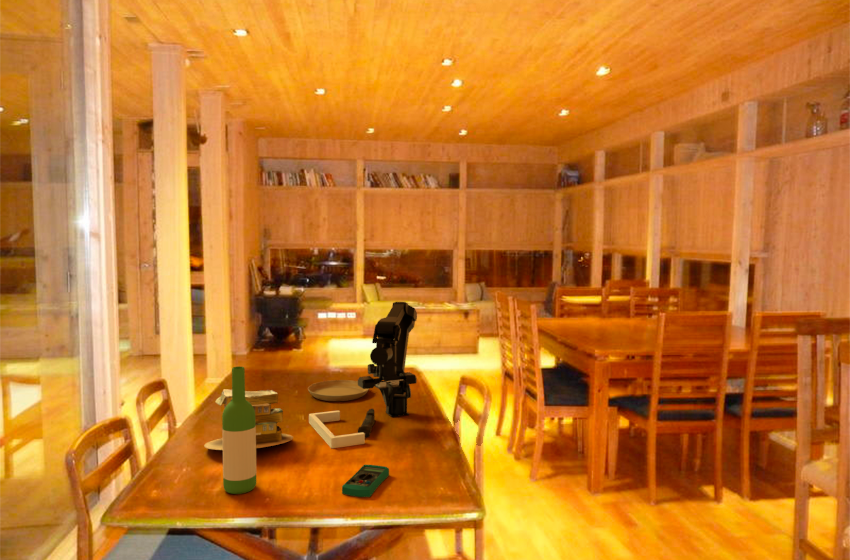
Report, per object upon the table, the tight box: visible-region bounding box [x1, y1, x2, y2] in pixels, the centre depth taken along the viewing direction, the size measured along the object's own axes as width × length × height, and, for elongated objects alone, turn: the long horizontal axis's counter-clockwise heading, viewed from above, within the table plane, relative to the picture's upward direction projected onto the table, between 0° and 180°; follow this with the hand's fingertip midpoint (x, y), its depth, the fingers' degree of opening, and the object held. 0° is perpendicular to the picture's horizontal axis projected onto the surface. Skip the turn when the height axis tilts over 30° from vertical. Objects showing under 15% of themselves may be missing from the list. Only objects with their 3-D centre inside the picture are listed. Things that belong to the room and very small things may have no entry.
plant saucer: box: [307, 379, 370, 402], centre depth 235 cm, size 24×24×3 cm
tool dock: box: [308, 410, 366, 449], centre depth 189 cm, size 10×27×3 cm, turn 25°
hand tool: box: [357, 408, 376, 439], centre depth 193 cm, size 19×4×5 cm, turn 175°
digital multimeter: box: [341, 464, 390, 498], centre depth 149 cm, size 7×15×3 cm, turn 164°
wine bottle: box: [221, 365, 257, 495], centre depth 145 cm, size 8×8×30 cm
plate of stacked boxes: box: [203, 388, 294, 451], centre depth 175 cm, size 25×25×17 cm
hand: (387, 406), depth 196 cm, fingers closed
